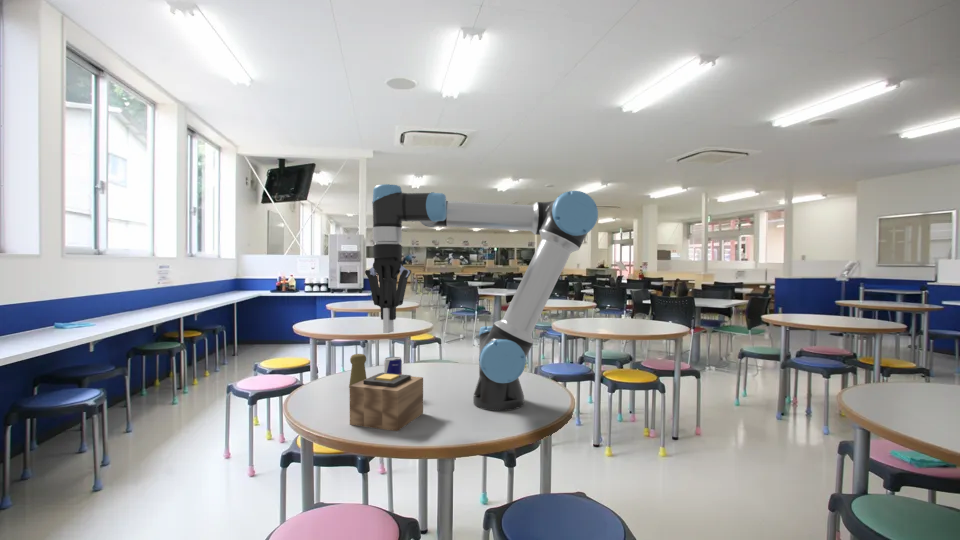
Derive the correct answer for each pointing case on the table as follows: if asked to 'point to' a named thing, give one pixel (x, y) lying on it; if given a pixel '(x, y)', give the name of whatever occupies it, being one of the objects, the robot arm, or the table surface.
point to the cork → (357, 368)
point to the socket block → (386, 402)
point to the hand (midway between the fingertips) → (388, 332)
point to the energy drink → (393, 365)
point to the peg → (387, 377)
